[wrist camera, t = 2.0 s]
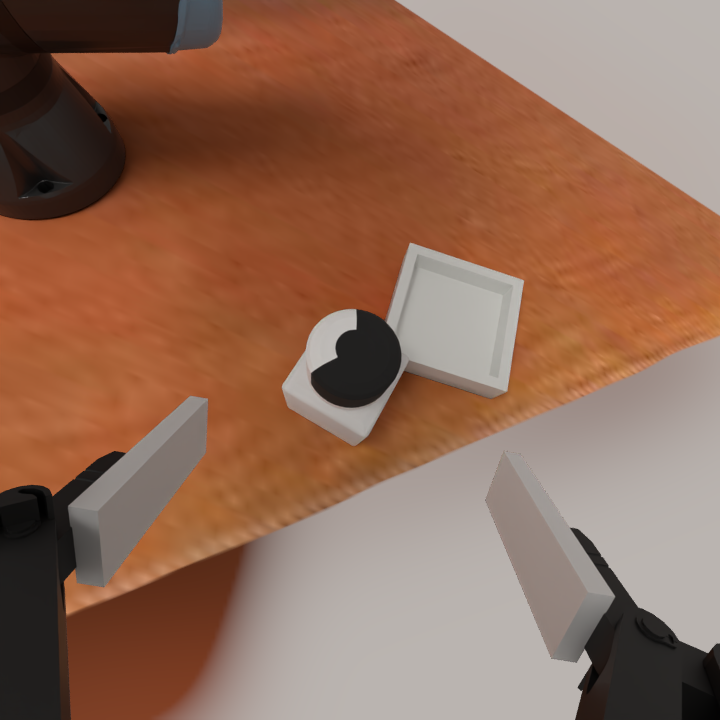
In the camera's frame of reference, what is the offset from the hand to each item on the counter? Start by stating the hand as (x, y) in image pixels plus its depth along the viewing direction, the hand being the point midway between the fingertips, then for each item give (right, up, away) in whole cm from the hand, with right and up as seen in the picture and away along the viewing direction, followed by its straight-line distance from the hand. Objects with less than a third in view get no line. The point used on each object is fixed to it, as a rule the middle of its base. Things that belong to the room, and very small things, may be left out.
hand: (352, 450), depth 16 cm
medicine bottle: (-2, +1, +17) cm, 17 cm away
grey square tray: (+9, +7, +21) cm, 24 cm away
